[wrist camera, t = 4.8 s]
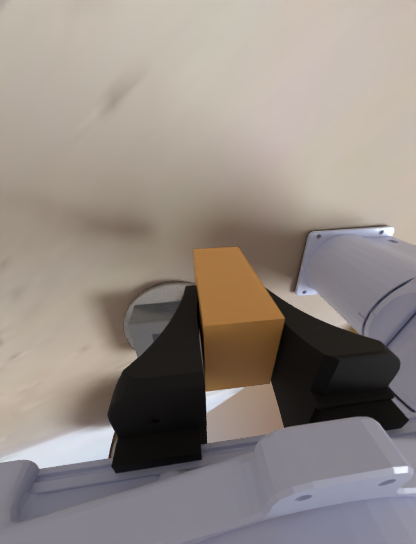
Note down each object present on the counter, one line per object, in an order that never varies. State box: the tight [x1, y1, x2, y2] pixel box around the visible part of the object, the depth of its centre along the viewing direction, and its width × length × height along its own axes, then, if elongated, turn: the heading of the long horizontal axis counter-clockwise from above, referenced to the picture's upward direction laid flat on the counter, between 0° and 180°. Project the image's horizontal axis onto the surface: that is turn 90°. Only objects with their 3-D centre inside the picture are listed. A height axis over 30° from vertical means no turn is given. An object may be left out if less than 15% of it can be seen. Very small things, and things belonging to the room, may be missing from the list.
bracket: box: [124, 281, 203, 364], centre depth 23 cm, size 12×12×4 cm
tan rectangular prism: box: [193, 247, 285, 391], centre depth 11 cm, size 3×4×7 cm
